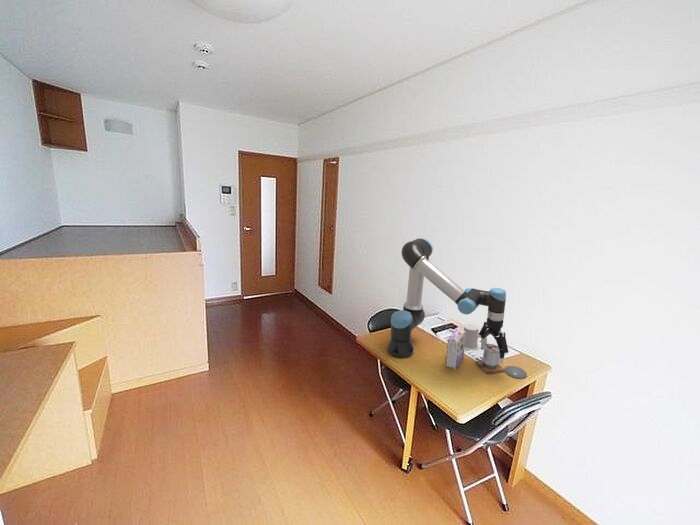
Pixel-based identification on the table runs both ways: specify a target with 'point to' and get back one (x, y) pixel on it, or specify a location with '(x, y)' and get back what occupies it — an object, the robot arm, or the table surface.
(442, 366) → the table surface
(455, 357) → the candy box
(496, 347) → the grey cylinder
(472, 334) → the cup
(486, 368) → the post stand
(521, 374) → the coaster
